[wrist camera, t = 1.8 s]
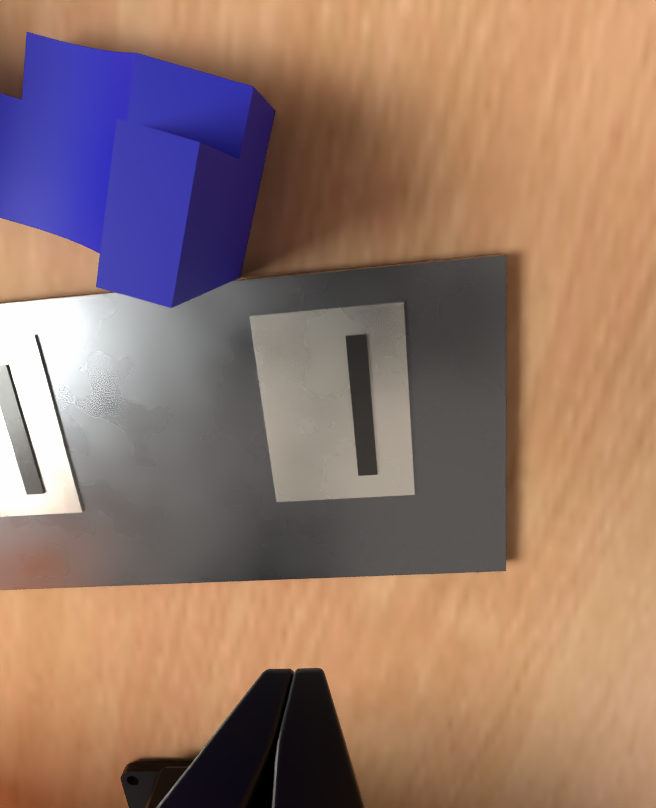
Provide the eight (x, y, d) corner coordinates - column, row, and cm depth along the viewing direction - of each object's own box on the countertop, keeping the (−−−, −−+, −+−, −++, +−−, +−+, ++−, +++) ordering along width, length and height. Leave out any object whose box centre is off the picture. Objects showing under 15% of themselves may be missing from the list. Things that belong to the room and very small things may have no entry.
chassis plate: (502, 561, 18) (507, 574, 18) (-97, 585, 21) (-112, 597, 20) (501, 254, 15) (507, 255, 15) (-204, 322, 18) (-226, 326, 17)
